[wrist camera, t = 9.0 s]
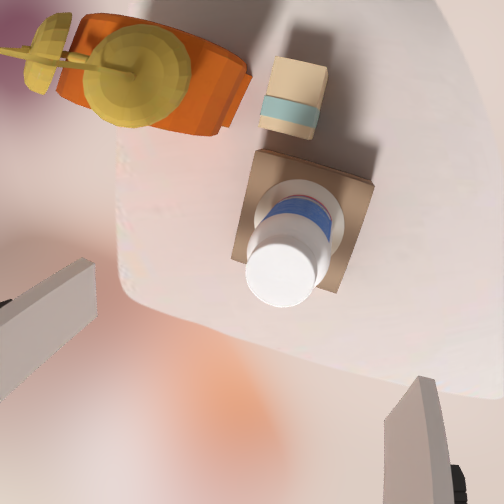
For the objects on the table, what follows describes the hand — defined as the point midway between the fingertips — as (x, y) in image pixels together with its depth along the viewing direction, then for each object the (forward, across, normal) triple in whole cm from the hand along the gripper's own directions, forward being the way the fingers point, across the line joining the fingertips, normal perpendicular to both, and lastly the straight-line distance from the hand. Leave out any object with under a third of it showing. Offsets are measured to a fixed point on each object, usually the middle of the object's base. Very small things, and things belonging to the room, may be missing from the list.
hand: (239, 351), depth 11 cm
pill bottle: (+17, 0, 0) cm, 17 cm away
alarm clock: (+20, -13, +10) cm, 26 cm away
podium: (+20, 0, 0) cm, 20 cm away
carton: (+20, -3, +10) cm, 23 cm away
